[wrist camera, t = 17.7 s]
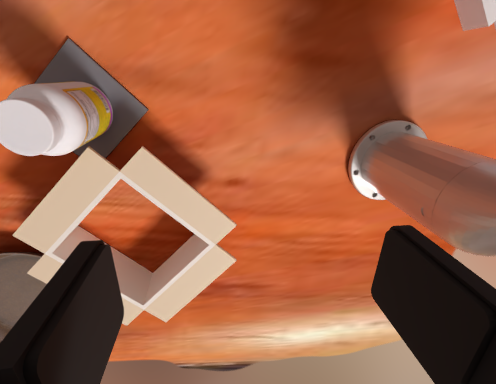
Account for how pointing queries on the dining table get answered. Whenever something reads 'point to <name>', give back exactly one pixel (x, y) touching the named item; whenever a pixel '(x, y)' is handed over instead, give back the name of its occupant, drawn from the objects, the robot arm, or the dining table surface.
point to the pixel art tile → (476, 13)
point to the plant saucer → (16, 287)
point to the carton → (128, 271)
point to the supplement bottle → (53, 118)
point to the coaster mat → (87, 70)
